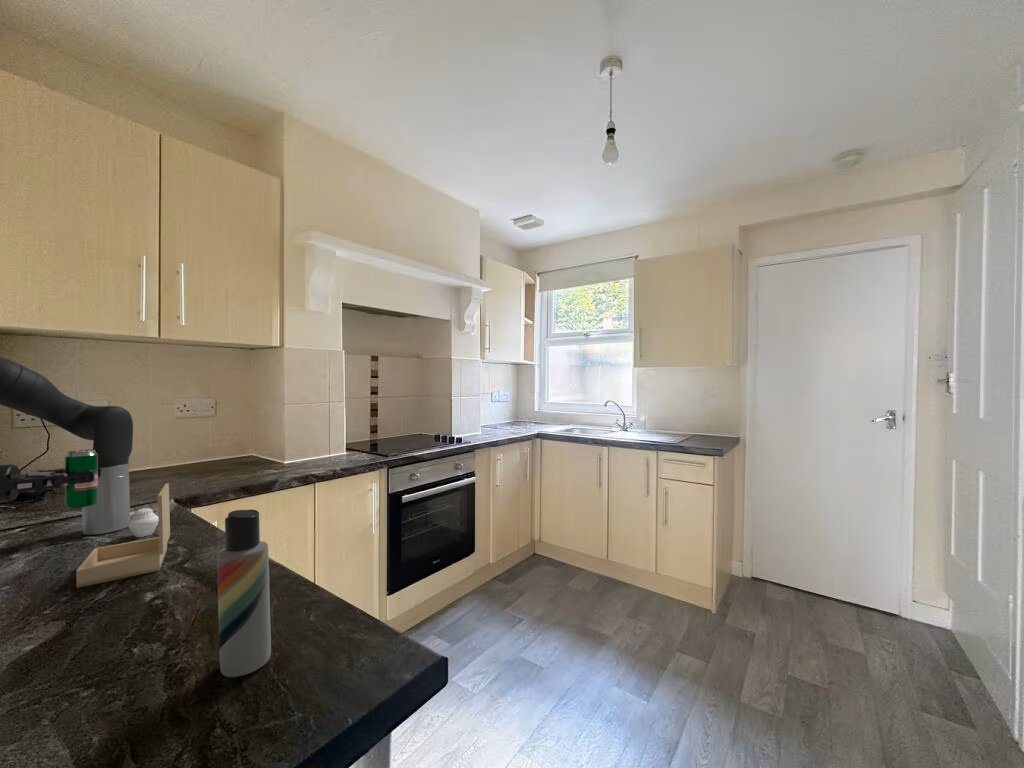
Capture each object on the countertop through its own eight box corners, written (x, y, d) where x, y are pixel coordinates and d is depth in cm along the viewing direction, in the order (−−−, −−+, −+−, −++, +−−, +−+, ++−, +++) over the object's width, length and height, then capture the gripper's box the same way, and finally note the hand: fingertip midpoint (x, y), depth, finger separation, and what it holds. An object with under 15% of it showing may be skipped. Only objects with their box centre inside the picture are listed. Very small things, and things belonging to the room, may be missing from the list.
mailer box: (95, 563, 90) (93, 492, 90) (170, 548, 97) (168, 483, 97) (76, 587, 79) (74, 506, 79) (163, 569, 86) (161, 495, 86)
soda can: (76, 509, 88) (76, 452, 89) (58, 508, 89) (58, 452, 90) (104, 503, 93) (104, 449, 94) (86, 502, 94) (86, 449, 95)
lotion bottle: (235, 651, 58) (232, 506, 58) (279, 648, 58) (275, 504, 58) (209, 680, 52) (205, 519, 52) (257, 676, 52) (253, 516, 53)
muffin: (152, 530, 112) (151, 503, 112) (164, 532, 109) (164, 505, 109) (122, 537, 106) (121, 510, 106) (135, 541, 103) (134, 512, 103)
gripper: (-40, 472, 77) (88, 461, 87) (-5, 462, 89) (104, 453, 99) (-40, 513, 77) (89, 497, 87) (-5, 497, 89) (105, 485, 99)
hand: (96, 474), depth 93 cm, fingers closed on soda can, 5 cm apart
